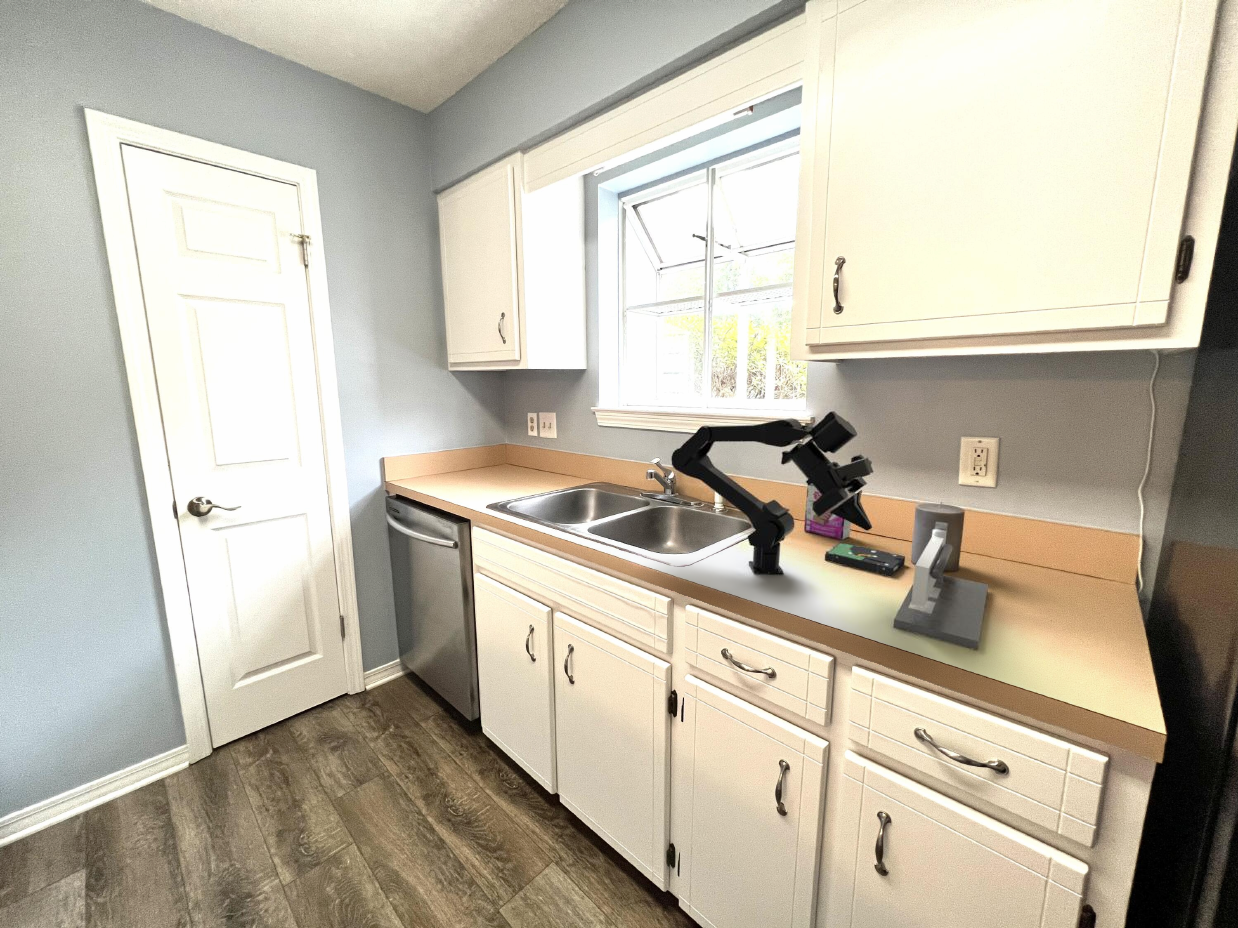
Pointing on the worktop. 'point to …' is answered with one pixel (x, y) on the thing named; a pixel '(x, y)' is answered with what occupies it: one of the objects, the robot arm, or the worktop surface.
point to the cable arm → (930, 567)
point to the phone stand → (947, 610)
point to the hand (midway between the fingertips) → (870, 529)
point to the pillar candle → (926, 523)
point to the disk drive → (865, 559)
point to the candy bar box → (824, 519)
